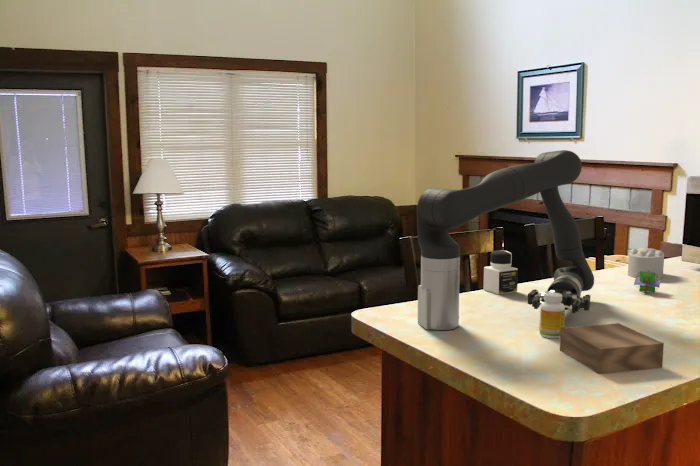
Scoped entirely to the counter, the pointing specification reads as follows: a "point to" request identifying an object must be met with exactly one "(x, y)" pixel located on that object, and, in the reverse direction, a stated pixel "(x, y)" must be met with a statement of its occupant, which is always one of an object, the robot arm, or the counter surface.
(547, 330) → the supplement bottle
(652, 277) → the geometric puzzle
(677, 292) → the counter surface
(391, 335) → the counter surface
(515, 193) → the robot arm
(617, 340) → the walnut block
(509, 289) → the medicine bottle
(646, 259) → the lumpy-topped squat cylinder
